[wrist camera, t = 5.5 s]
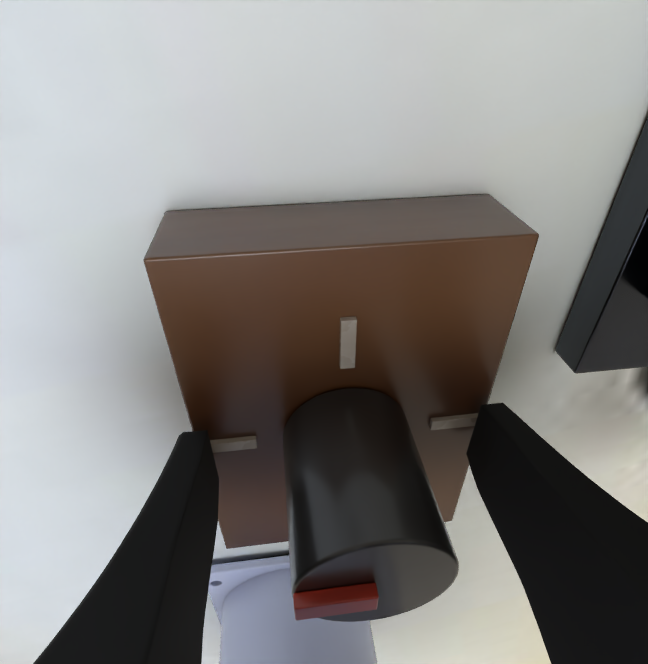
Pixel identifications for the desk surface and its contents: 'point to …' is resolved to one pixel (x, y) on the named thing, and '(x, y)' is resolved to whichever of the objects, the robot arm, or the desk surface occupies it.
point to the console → (335, 328)
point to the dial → (360, 511)
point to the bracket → (615, 283)
